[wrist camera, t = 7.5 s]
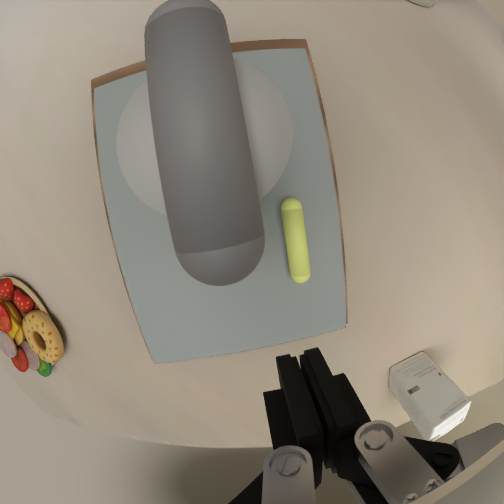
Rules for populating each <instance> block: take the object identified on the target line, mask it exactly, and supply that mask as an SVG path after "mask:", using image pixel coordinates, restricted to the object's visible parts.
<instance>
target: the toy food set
mask: <svg viewBox="0 0 504 504" xmlns="http://www.w3.org/2000/svg"><path fill="white" fill-rule="evenodd" d="M0 349H1V350H2V351H3V352H4V354H6V355H7V356H8V357H11V360H12V362H13V364H14V365H15V367H16V368H17V369H18V370H19V371H21V372H25V371H27V369H28V367H29V368H30V369H32V370H37V371H38V373H39V374H41V375H42V376H44V377H47V376H49V375H50V374H51V370H52V369H51V366H53V365H54V363H56V362H57V361H59V360H60V359H61V358H62V357H63V354H64V345H63V341H62V338H61V335H60V333H59V331H58V329H57V328H56V326H55V324H54V323H53V321H52V320H51V318H50V315H49V313H48V312H47V310H46V308H45V306H44V305H43V303H42V302H41V301H40V299H39V298H38V297H37V296H36V294H35V293H34V292H33V291H32V290H31V289H30V288H29V287H28V286H27V285H25V284H24V283H23V282H21V281H20V280H18V279H16V278H13V277H1V278H0Z"/></svg>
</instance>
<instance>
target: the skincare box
mask: <svg viewBox="0 0 504 504" xmlns="http://www.w3.org/2000/svg"><path fill="white" fill-rule="evenodd" d="M389 388H390V390H391V391H392V393H393V394H394V395H395V397H396V398H397V400H398V401H399V403H400V404H401V405H402V407H403V408H404V410H405V411H406V413H407V414H408V416H409V417H410V418H411V420H412V421H413V423H414V424H415V426H416V427H417V429H418V430H419V432H420V433H421V435H422V436H423V438H424V439H425V440H427V441H434V440H436V439H437V438H439V437H440V436H442V435H444V434H446V433H447V432H449V431H450V430H451V429H453V428H454V427H455V426H456V425H458V424H459V423H461V422H462V421H463V420H464V419H465V417H466V414H467V412H468V409H469V407H470V404H471V400H470V399H469V398H468V397H467V396H466V395H465V394H464V393H463V392H462V391H461V389H460V388H459V387H458V386H457V385H456V384H455V383H454V382H453V381H452V380H451V379H450V378H449V377H448V376H447V375H446V374H445V373H444V372H443V371H442V370H441V369H440V368H439V367H438V366H437V365H436V363H435V362H434V361H433V360H432V359H430V358H429V357H428V356H427V355H426V353H425V352H420V353H418V354H416V355H414V356H412V357H410V358H408V359H406V360H404V361H402V362H400V363H398V364H396V365H394V366H392V367H391V368H390V374H389Z"/></svg>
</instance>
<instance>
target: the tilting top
mask: <svg viewBox="0 0 504 504" xmlns="http://www.w3.org/2000/svg"><path fill="white" fill-rule="evenodd" d="M144 37H145V57H146V71H142V72H139V73H136V74H133V75H130V76H127V77H124V78H121V79H118V80H115V81H112V82H110V83H107V84H104V85H102V86H99V87H97V88H94V106H95V123H96V135H97V145H98V154H99V162H100V170H101V176H102V183H103V189H104V195H105V200H106V206H107V211H108V216H109V221H110V225H111V230H112V234H113V239H114V243H115V247H116V251H117V255H118V259H119V262H120V266H121V270H122V273H123V277H124V280H125V283H126V287H127V290H128V293H129V296H130V300H131V303H132V306H133V309H134V312H135V315H136V318H137V320H138V323H139V326H140V329H141V331H142V334H143V337H144V339H145V342H146V345H147V347H148V350H149V352H150V355H151V357H152V360H153V362H154V364H158V363H168V362H177V361H185V360H193V359H200V358H207V357H214V356H220V355H226V354H232V353H238V352H243V351H249V350H254V349H259V348H264V347H269V346H273V345H278V344H283V343H287V342H291V341H296V340H300V339H304V338H308V337H312V336H316V335H320V334H324V333H327V332H331V331H335V330H338V329H342V328H345V327H346V301H345V281H344V266H343V254H342V243H341V233H340V223H339V215H338V206H337V199H336V192H335V185H334V178H333V172H332V165H331V159H330V154H329V148H328V143H327V137H326V132H325V127H324V123H323V118H322V113H321V109H320V104H319V100H318V96H317V91H316V87H315V83H314V79H313V75H312V72H311V68H310V64H309V61H308V57H307V54H306V50H305V49H266V50H253V51H242V52H233V53H232V50H231V45H230V40H229V35H228V30H227V26H226V21H225V18H224V15H223V13H222V12H221V10H220V9H219V8H218V7H217V6H216V5H215V4H214V3H212V2H211V1H209V0H169V1H167V2H165V3H164V4H162V5H161V6H159V7H158V8H157V9H156V10H155V11H154V12H153V13H152V15H151V16H150V17H149V19H148V22H147V24H146V26H145V34H144Z"/></svg>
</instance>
